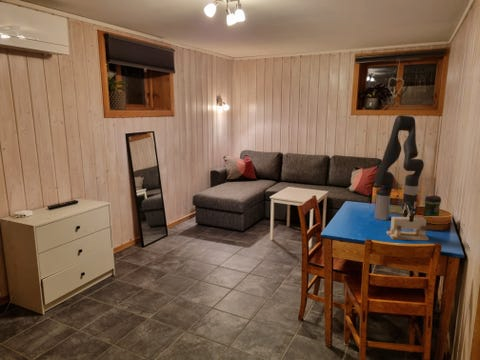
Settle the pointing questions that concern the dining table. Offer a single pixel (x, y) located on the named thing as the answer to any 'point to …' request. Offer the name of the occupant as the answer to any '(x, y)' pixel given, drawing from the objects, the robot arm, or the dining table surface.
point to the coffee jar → (432, 206)
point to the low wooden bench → (407, 234)
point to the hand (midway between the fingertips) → (408, 219)
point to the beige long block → (408, 222)
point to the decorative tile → (396, 210)
